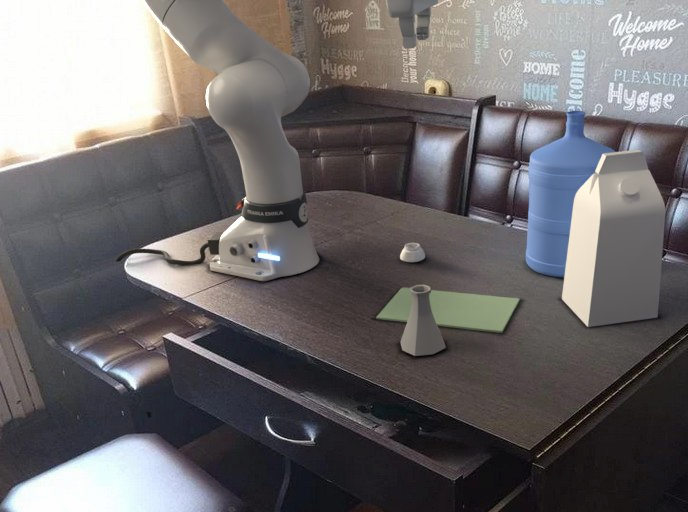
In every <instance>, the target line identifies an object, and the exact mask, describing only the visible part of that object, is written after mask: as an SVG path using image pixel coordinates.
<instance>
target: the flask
mask: <svg viewBox="0 0 688 512" xmlns="http://www.w3.org/2000/svg"><path fill="white" fill-rule="evenodd" d="M409 288H410V291H411V294H412V307H411V312H410V315H409V318H408V321H407V322H406V325H405V328H404V330H403V333H402V335H401V339H400V341H399V342H400V346H401V351H403V352H405V353H407V354H409V355H412V356H414V357H419V356H430V355H434V354H436V353H438V352H441V351H443V350H444V349H446V348H447V346H446V343H445V341H444V338H443V336H442V333H441V331H440V328H439V326H437V324H436V321H435V319H434V316H433V313H432V310H431V306H430V299H429V294H430V293H431V290H432V289H431V286H429V285H427V284H415V285H413V286H411V287H409Z"/></svg>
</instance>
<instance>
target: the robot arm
mask: <svg viewBox="0 0 688 512" xmlns="http://www.w3.org/2000/svg"><path fill="white" fill-rule="evenodd" d="M141 1H142V3H143V4H144V6H145V7H146V8H147V10H148V11H149V13H151V15H152V16H153V18H155V20H156V21H157V23H159V25H160V26H161V27H162V28H163V30H165V32H166V33H167V34H168V35H169V37H170V38H172V40H173V41H174V42H175V43H176V44H177V45H178V46H179V47H180V48H181V49H182V51H183V52H184V53H185V54H186V55H187V56H188V57H189V59H190V60H191V61H193V62H194V63H195V64H196V65H198V66H200V67H203V68H205V69H208V70H210V71H212V72H214V73H216V74H217V76H215V77H214V78H213V79H212V80H211V81H210V82H209V84H208V86H207V88H206V93H205V100H206V101H205V103H206V107H207V110H208V113H209V115H210V117H211V118H212V120H213V121H214V122H215V123H216V124H217V126H219V127H220V128H222V129H223V130H224V131H225V132H226V133H227V134H228V136H229V138H230V139H231V142H232V144H233V146H234V148H235V151H236V153H237V156H238V159H239V162H240V163H239V164H240V168H241V171H242V172H241V173H242V179H243V183H244V190H245V195H246V196H245V197H244V198H242V199H241V200H240V201H239V202H237V203H236V204H235V206H237V207H236V208H235V210H237V211H239V210H240V209H242V210H241V215H240V217H238V218H237V219H236V220H235V221H234V222H233V223H232V224H231V225H230V226H229V227H228V228H227V229H226V230H224V231H216V232H215V233H213V235H211V236H210V237H209V238H208V239H207V242H205V243H204V244H202V245H201V247H200V248H199V254H200V257H198V258H197V259H195V260H181V259H173V258H171V257H170V254H169V253H168V252H167V251H166V250H162V249H154V248H153V249H152V248H132V249H128V250H126V251H124V252H122V253H120V254H119V255H118V256H117V257H116V258H115V260H114V261H115V263H118V262H121V261H122V260H123V259H124V258H126V257H128V256H131V255H135V254H152V255H158V256H159V255H160V256H163V257H164V259H165V261H166V262H167V263H169V264H172V265H178V266H193V265H198V264H202V263H203V262H204V261H205V260H206V258H207V257H206V250H207V249H208V250H209V255H211V256H214V257H213V258H212V259H211V261H210V262H209V270H210V271H211V272H217V273H221V274H226V275H231V276H236V277H241V278H245V279H250V280H255V281H259V282H269V281H272V280H274V279H278V278H281V277H288V276H295V275H297V274H302V273H304V272H308V271H309V270H311V269H313V268H315V267H317V265H318V264H319V262H320V257H319V255H318V253H317V250H316V247H315V244H314V241H313V238H312V234H311V230H310V225H309V209H308V202H307V201H308V200H307V195H306V192H305V191H304V189H303V188H304V187H303V180H302V170H301V162H300V156H299V153H298V150H297V149H296V148H295V147H294V146H293V145H291V144H290V143H289V140H288V139H287V136H286V134H285V131H284V129H283V125H282V117H285V116H287V115H289V114H291V113H293V112H295V110H297V109H298V108H299V107H300V106H301V105H302V104H303V103H304V102H305V100H306V98H307V97H308V95H309V92H310V89H311V79H310V75H309V71H308V70H307V68H306V66H305V64H304V63H303V62H302V61H301V60H300V59H299V58H297V57H296V56H293V55H291V54H289V53H286V52H284V51H282V50H280V49H279V48H277V47H275V46H274V45H273V44H272V43H270V42H269V41H268V40H266V39H265V38H264V37H262V36H261V35H260V34H258V33H257V32H256V31H254V30H253V29H252V28H251V27H250V26H248V25H247V24H246V23H244V22H243V21H242V20H241V19H240V18H239V17H238V16H237V15H236V14H235V13H234V12H233V11H232V10H231V9H230V8H229V6H228V5H226V3H225V2H224V1H223V0H141ZM438 3H439V0H385V5H386V9H387V13H388V15H389V17H390V18H391V19H393V18H395V19H397V18H398V26H399V30H400V32H401V36H402V37H401V38H402V47H403V48H404V49H405V50H406V49H407V50H408V49H411V50H412V49H414V48H415V47H416V46H417V40H418V41H426V40H428V39H429V38H430V23H431V15H432V11H431V10H432V9H431V8H432V7H434V6H435V5H437V4H438ZM415 22H416V27H415ZM145 413H146V417H147V418H148V419H150V418H152V412H151V411H146V412H145Z"/></svg>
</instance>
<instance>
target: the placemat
mask: <svg viewBox="0 0 688 512" xmlns="http://www.w3.org/2000/svg"><path fill="white" fill-rule="evenodd" d="M410 288H411V287H405V286H404V287H403V286H402V287H401V288H400V289H399V290H398V292H396V293H395V294H394V296H393V297H392V298H391V299H390V301H388V303H387V304H386V305H385V306H384V308H383V309H382V310H381V311H380V312H379V313H378V314H377V316H376V317H375V319H376V320H381V321H391V322H400V323H407V321H408V318H409V315H410V312H411V307H412V294H411V291H410ZM429 299H430V306H431V310H432V313H433V316H434V319H435V321H436V324H437V326H438V327H443V328H452V329H453V328H454V329H462V330H471V331H480V332H487V333H488V332H489V333H498V334H503V332H504V331H505V328H506V326H507V325H508V324H509V321H510V320H511V317H512V315H513V313H514V312H515V310H516V308H517V306H518V304H519V303H520V301H521V299H520V298H519V297H507V296H498V295H489V294H488V295H487V294H477V293H467V292H455V291H446V290H445V291H444V290H436V289H435V290H434V289H431V293H430V294H429Z"/></svg>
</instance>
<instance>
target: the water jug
mask: <svg viewBox="0 0 688 512" xmlns="http://www.w3.org/2000/svg"><path fill="white" fill-rule="evenodd" d="M585 115H586V111H584V110H570V111H567V112H566V117H567V118H566V122H565V134H564V136H563V137H561V138H557V139H556V140H554V141H552V142H550V143H547V144H545V145H544V146H541V147H539V148H537V149H535V150H534V151H532V152H531V154H530V155H529V164H528V173H527V174H528V213H527V226H528V227H527V229H526V230H527V231H526V249H525V263H526V264H527V266H528V267H529V268H530V269H531V270H533V271H534V272H536V273H539V274H540V275H543V276H547V277H551V278H553V277H554V278H560V279H562V278H563V279H564V276H565V268H566V260H567V252H568V244H569V236H570V228H571V220H572V212H573V204H574V198H575V195H576V193H577V191H578V190H579V189H580V188H581V187H582V185H583V184H584V183H585V182H586V181H587V180H588V179H589V178H590V177H591V176H592V175H593V174H594V173H595V170H596V168H597V165H598V163H599V161H600V159H601V156H602V154H603V153H612V152H616V150H614V149H612V148H611V147H609V146H607V145H605V144H602V143H600V142H598V141H595V140H594V139H591V138H589V137H587V136H586V135H585V124H586V121H585Z"/></svg>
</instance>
